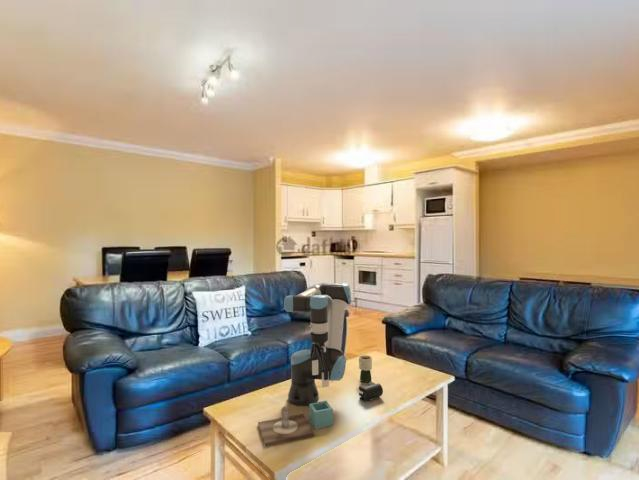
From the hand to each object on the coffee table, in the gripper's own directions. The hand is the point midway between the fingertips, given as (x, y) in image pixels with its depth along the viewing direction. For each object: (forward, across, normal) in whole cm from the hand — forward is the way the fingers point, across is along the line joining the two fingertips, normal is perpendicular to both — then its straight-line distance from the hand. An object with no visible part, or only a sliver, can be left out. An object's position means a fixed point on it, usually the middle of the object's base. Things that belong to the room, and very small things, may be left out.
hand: (320, 380), depth 153 cm
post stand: (+18, +1, -16) cm, 24 cm away
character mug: (+18, -32, +37) cm, 52 cm away
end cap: (+19, -12, +30) cm, 37 cm away
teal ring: (+18, 0, 0) cm, 18 cm away
